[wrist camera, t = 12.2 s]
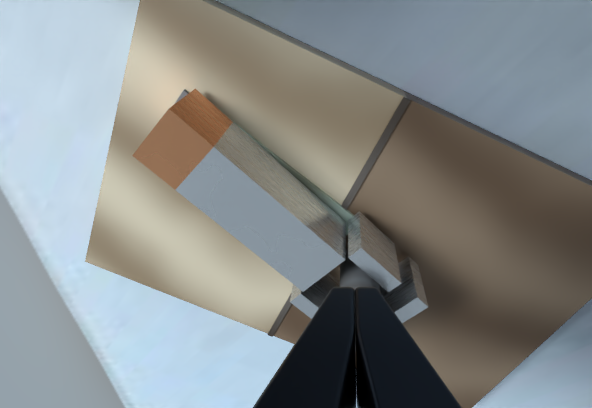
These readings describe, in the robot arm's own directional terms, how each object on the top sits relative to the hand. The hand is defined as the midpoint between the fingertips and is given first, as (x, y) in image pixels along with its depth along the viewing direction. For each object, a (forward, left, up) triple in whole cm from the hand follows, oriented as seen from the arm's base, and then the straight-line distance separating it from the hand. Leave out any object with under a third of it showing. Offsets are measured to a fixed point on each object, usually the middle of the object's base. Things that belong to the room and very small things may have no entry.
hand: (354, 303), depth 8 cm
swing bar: (+4, -1, -10) cm, 11 cm away
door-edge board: (+6, +1, -12) cm, 13 cm away
